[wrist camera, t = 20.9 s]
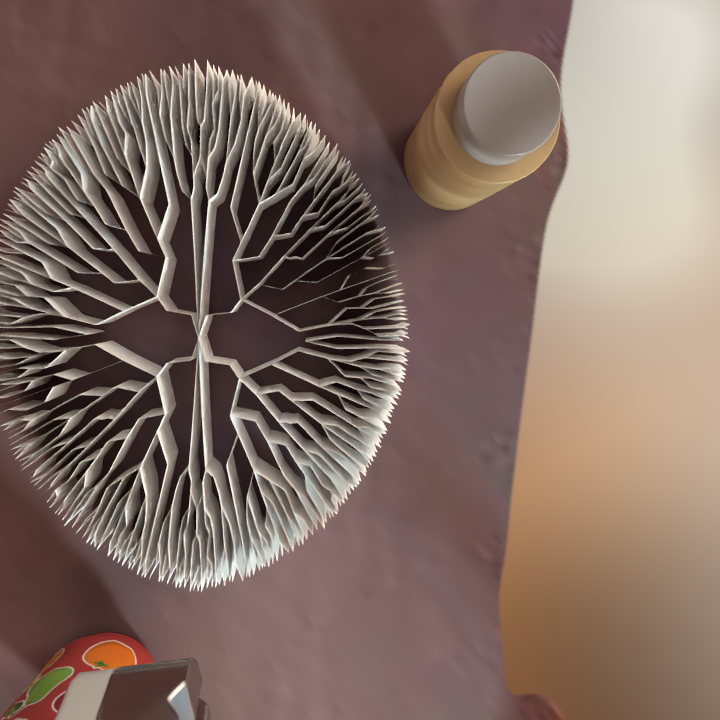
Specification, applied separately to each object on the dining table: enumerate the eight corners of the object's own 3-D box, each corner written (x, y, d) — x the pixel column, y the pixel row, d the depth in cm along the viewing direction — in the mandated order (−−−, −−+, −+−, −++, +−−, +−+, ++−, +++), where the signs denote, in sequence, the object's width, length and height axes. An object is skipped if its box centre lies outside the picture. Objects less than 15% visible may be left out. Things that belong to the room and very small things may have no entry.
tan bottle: (384, 148, 35) (416, 84, 24) (464, 90, 35) (531, 0, 24) (439, 229, 36) (494, 203, 25) (517, 173, 36) (606, 122, 25)
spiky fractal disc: (414, 91, 35) (423, 73, 32) (392, 570, 38) (398, 592, 35) (-6, 64, 33) (-35, 43, 30) (7, 569, 36) (-19, 592, 33)
